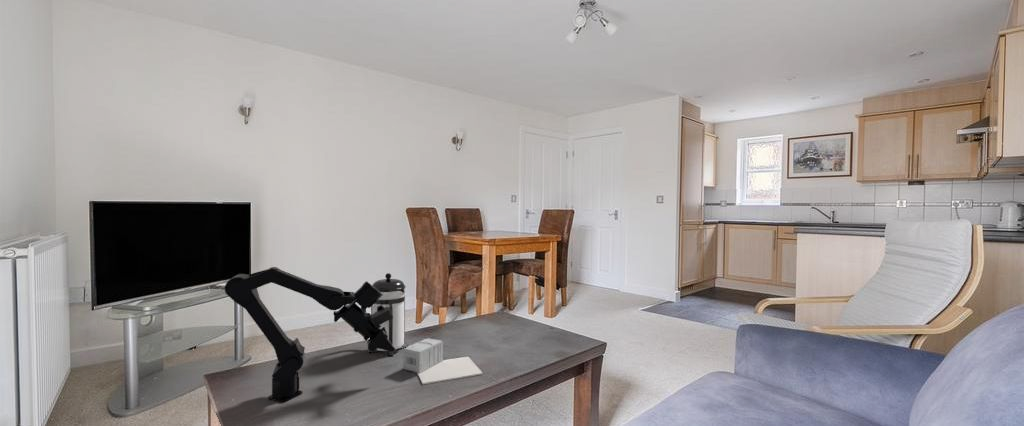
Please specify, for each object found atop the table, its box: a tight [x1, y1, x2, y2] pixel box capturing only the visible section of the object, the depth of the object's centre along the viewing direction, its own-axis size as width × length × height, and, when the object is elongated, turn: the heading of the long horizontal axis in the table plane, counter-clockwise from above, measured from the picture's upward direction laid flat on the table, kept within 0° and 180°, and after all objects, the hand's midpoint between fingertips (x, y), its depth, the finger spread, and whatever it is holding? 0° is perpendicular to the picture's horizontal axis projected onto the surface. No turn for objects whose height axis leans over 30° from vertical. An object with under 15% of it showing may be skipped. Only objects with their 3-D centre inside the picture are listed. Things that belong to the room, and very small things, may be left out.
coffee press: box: [360, 272, 408, 357], centre depth 156 cm, size 17×16×30 cm
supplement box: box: [402, 337, 444, 374], centre depth 141 cm, size 7×7×13 cm
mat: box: [416, 356, 484, 385], centre depth 138 cm, size 20×16×1 cm
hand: (393, 350), depth 130 cm, fingers closed
